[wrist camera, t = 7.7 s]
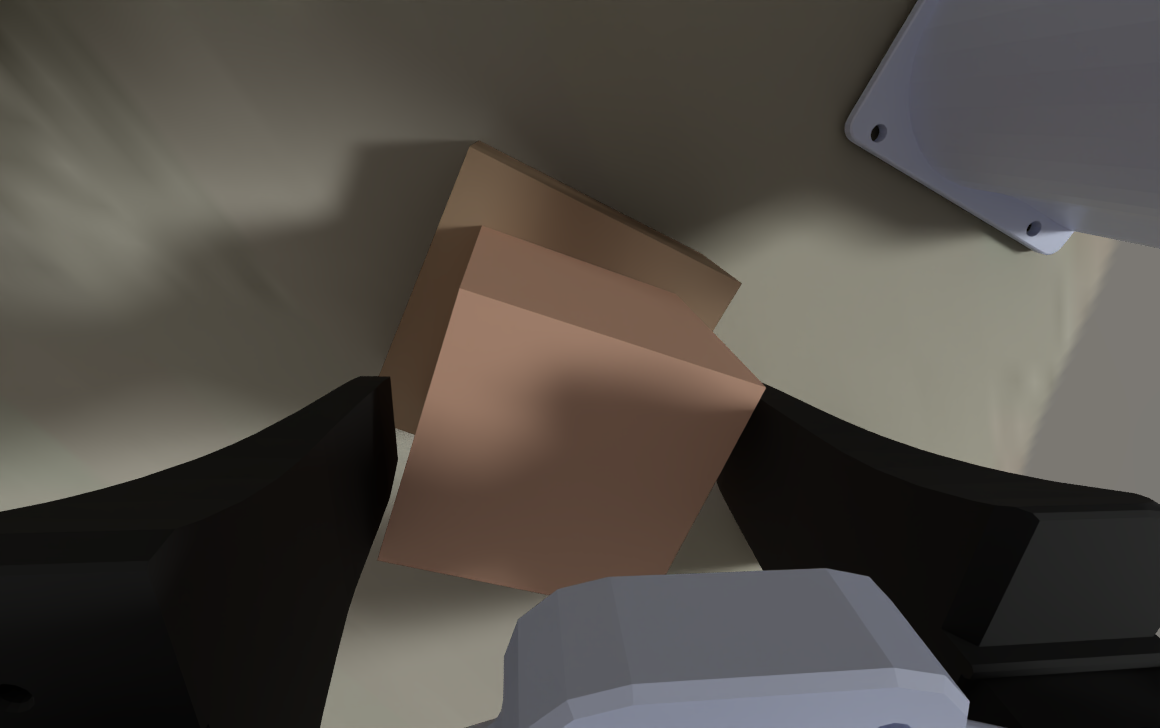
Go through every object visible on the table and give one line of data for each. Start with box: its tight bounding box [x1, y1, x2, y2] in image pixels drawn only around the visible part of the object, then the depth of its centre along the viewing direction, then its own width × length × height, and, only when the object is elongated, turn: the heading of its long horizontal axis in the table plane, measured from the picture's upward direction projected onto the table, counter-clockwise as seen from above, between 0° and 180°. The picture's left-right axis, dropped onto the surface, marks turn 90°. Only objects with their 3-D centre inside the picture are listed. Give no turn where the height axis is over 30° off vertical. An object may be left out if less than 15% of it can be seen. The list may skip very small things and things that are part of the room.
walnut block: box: [379, 141, 742, 435], centre depth 17 cm, size 8×8×4 cm
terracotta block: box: [377, 226, 766, 595], centre depth 13 cm, size 6×6×6 cm
